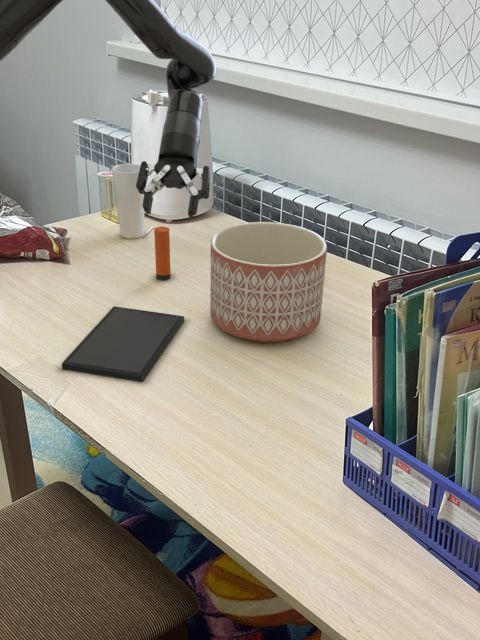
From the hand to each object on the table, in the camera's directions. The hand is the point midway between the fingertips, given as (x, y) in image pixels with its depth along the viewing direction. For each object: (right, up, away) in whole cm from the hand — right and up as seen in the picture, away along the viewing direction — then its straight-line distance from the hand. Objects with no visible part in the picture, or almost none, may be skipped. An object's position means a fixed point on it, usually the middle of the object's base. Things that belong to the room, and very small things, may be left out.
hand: (169, 214), depth 135 cm
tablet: (-4, -26, -22) cm, 34 cm away
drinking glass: (-11, -1, +18) cm, 21 cm away
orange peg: (-1, -12, 0) cm, 12 cm away
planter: (+19, -22, -14) cm, 32 cm away
